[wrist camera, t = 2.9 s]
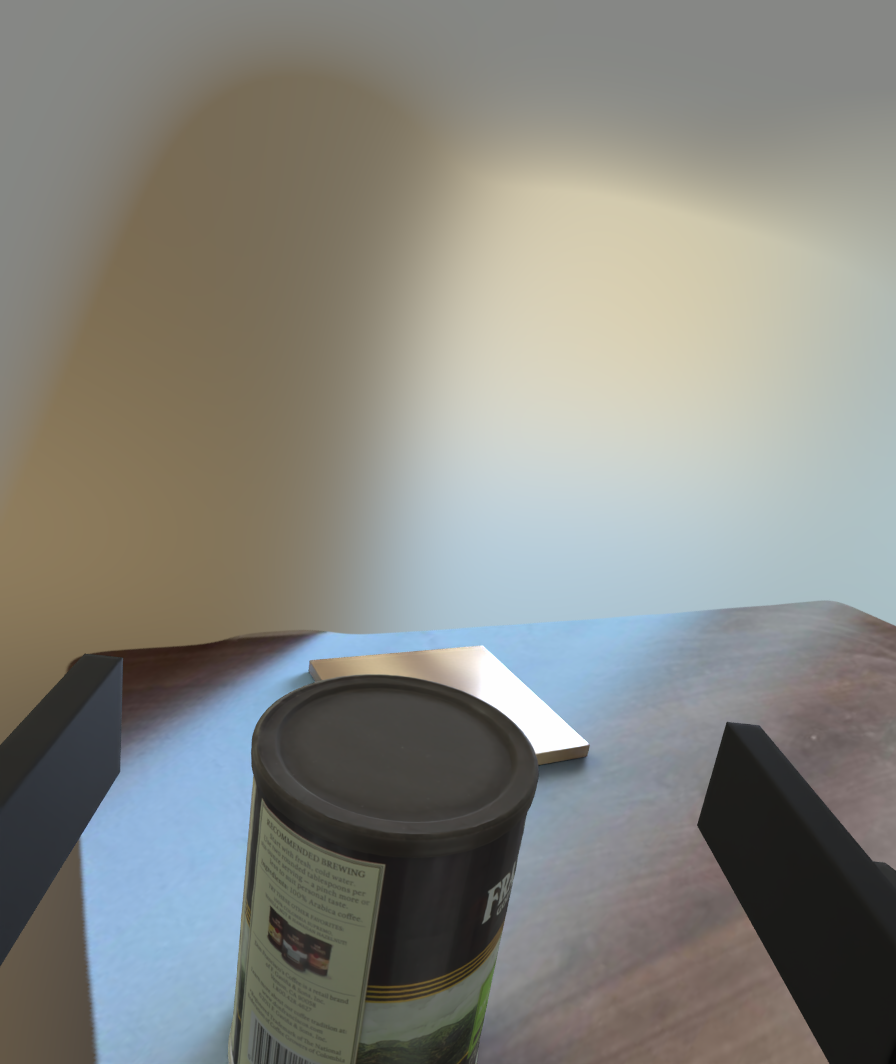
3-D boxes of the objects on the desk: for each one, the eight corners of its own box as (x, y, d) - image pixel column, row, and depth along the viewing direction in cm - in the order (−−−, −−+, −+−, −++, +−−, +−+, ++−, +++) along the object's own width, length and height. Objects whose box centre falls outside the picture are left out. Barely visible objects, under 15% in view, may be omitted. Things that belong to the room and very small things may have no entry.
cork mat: (382, 794, 46) (384, 780, 46) (308, 671, 60) (309, 659, 59) (587, 756, 54) (590, 744, 53) (480, 655, 67) (482, 645, 67)
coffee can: (479, 953, 36) (532, 693, 32) (473, 1196, 26) (550, 864, 22) (268, 917, 36) (295, 654, 32) (182, 1145, 26) (206, 805, 22)
